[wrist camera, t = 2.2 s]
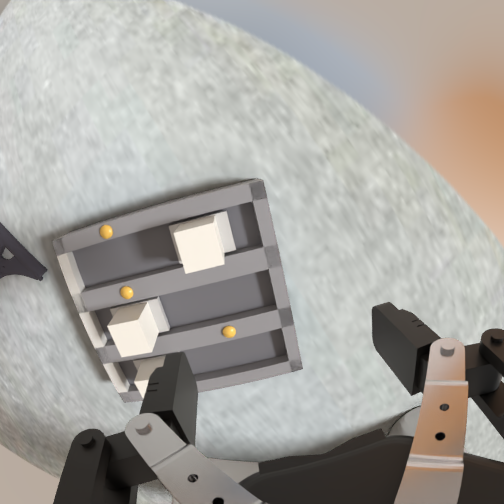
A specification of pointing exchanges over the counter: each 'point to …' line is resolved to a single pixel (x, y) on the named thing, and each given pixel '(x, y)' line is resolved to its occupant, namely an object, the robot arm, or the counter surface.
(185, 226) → the switch front
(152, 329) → the switch middle
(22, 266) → the bracket
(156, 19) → the counter surface
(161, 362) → the switch back
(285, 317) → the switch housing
